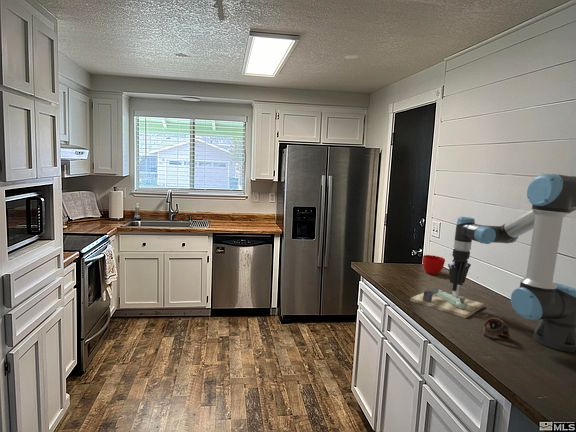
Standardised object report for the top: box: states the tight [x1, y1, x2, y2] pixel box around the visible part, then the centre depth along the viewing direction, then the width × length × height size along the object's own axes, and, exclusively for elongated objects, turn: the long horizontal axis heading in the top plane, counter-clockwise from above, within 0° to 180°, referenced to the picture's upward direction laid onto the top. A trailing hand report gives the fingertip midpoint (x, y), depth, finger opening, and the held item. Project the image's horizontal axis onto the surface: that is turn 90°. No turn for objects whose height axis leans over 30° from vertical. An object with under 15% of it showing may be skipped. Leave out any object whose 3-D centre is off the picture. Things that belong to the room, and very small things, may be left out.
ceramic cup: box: [422, 254, 446, 276], centre depth 255 cm, size 13×17×10 cm
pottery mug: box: [482, 316, 511, 340], centre depth 162 cm, size 12×10×8 cm
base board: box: [409, 291, 485, 319], centre depth 196 cm, size 26×25×7 cm
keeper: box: [423, 287, 440, 302], centre depth 195 cm, size 3×10×4 cm, turn 138°
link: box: [435, 289, 468, 309], centre depth 195 cm, size 22×5×2 cm, turn 14°
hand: (454, 297), depth 196 cm, fingers closed
